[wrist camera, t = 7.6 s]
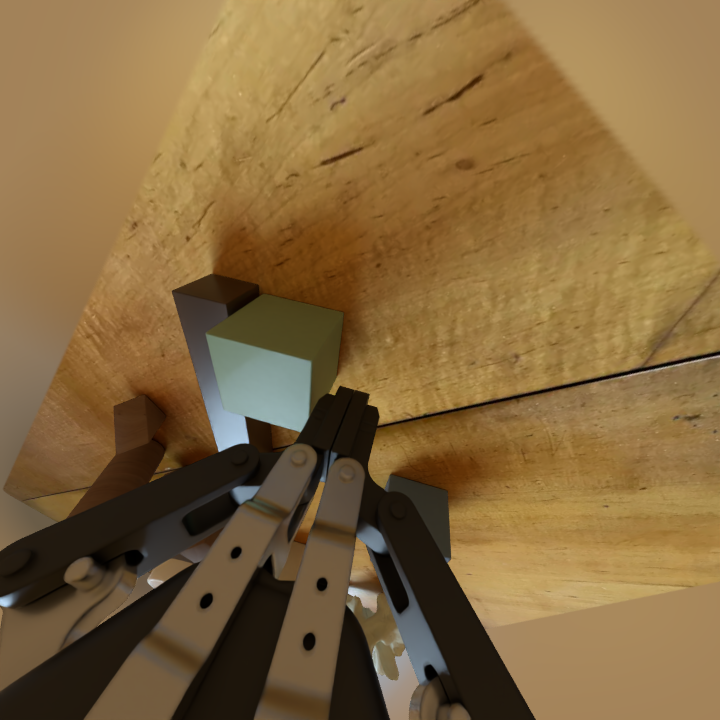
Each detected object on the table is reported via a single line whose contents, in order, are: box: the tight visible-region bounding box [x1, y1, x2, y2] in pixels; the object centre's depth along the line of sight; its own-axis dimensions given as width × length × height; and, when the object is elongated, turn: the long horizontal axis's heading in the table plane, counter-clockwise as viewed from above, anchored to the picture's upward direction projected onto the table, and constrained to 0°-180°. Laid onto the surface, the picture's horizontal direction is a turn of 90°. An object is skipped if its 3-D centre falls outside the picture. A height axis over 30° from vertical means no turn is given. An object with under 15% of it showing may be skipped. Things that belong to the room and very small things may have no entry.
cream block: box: [278, 541, 306, 581], centre depth 36 cm, size 5×5×5 cm
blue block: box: [370, 475, 451, 563], centre depth 22 cm, size 5×5×5 cm
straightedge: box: [172, 274, 273, 453], centre depth 25 cm, size 3×38×3 cm, turn 171°
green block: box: [206, 294, 344, 432], centre depth 15 cm, size 5×5×5 cm
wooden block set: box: [66, 395, 224, 563], centre depth 26 cm, size 18×9×10 cm, turn 18°
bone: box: [346, 593, 405, 680], centre depth 37 cm, size 13×15×8 cm
